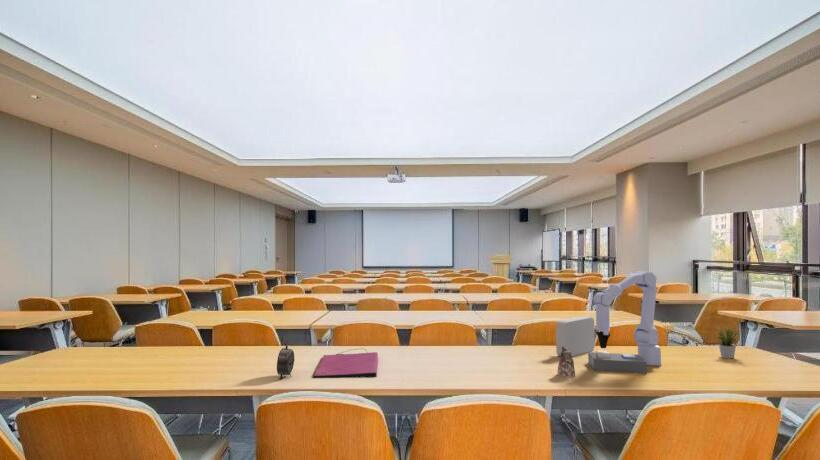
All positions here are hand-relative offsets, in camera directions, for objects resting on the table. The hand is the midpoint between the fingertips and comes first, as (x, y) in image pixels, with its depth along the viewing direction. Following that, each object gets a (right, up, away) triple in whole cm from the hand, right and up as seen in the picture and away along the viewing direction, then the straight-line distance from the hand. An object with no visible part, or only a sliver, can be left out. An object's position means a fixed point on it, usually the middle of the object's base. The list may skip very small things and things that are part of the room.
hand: (603, 347), depth 206 cm
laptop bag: (-119, -10, +3) cm, 119 cm away
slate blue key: (+11, -7, -3) cm, 13 cm away
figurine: (-22, -9, -14) cm, 27 cm away
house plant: (+72, -10, +18) cm, 75 cm away
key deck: (+5, -9, -2) cm, 10 cm away
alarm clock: (-143, -8, -17) cm, 144 cm away
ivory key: (0, -6, 0) cm, 6 cm away
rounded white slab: (-2, -10, +27) cm, 29 cm away
